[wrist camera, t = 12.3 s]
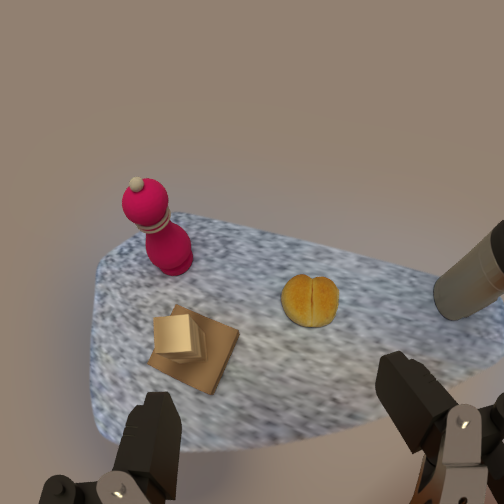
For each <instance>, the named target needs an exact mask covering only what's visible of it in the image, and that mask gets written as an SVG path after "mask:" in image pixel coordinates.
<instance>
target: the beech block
mask: <svg viewBox="0 0 504 504" xmlns="http://www.w3.org/2000/svg"><path fill="white" fill-rule="evenodd" d="M154 343H155V354H158V355H160V356H162V357H165V358H167V359H170V360H172V361H175V362H177V363H180V364H181V363H194V362H206V361H208V359H207V350H206V340H205V333H204V332H203V331H202V330H201V329H200V327H199V326H198V325H197V324H196V323H195V321H194V320H193V319H192V318H191V317H190V315H189V314H185V315H176V316H165V317H154Z"/></svg>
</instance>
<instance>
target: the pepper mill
mask: <svg viewBox="0 0 504 504" xmlns="http://www.w3.org/2000/svg"><path fill="white" fill-rule="evenodd" d="M122 207H123V211H124V213H125V215H126V217H127V218H128V219H129V220H130V221H132V222H133V223H135V224H136V225H137V227H138V229H139V230H140V231H141V232H143V233H146V251H147V255H148V257H149V259H150V260H151V262H152V263H153V264H154V265H156V266H157V267H159V268H160V269H161V271H162V272H163V273H165V274H167V275H170V276H177V275H180V274H183V273H184V272H186V271H187V270H188V269H189V267H190V266H191V264H192V261H193V254H192V251H191V241H190V238H189V236H188V235H187V233H186V232H185V230H183V229H182V228H181V227H180V226H178V225H177V224H174V223H172V222H171V221H170V217H171V212H170V209H169V207H168V195H167V192H166V190H165V188H164V187H163V186H162V185H161V184H160V183H159V182H158V181H156V180H153V179H149V178H146V179H141V178H140V177H134V178H132V179H131V181H130V183H129V187H128V188H127V190H126V191H125V193H124V195H123V199H122Z"/></svg>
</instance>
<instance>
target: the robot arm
mask: <svg viewBox="0 0 504 504" xmlns="http://www.w3.org/2000/svg"><path fill="white" fill-rule="evenodd" d="M502 294H504V220H502V221H501V222H500V223H499V224H498V225H497V226H496V227H495V228H494V229H493V230H492V231H491V232H490V233H489V234H488V235H487V236H486V237H485V238H484V239H483V240H482V241H481V242H479V243H478V244H477V245H476V246H475V247H474V248H473V249H472V250H471V251H470V252H469V253H468V254H467V255H465V256H464V257H463V258H462V259H461V260H460V261H459V262H458V263H456V264H455V265H454V266H453V267H452V268H451V269H449V270H448V271H447V272H446V273H445V274H444V275H442V276H441V277H440V278H439V279H438V280H437V281H436V283H435V286H434V300H435V303H436V306H437V308H438V310H439V311H440V313H441V314H442V315H443V316H444V317H445V318H447V319H449V320H459V319H461V318H463V317H465V318H467V317H469V316H471V315H472V314H474V313H476V312H478V311H480V310H481V309H483V308H485V307H487V306H488V305H490V304H492V303H494V302H495V301H496V300H497V298H498V297H499V296H501V295H502ZM375 390H376V394H377V396H378V398H379V400H380V401H381V403H382V405H383V406H384V408H385V409H386V411H387V413H388V414H389V416H390V418H391V419H392V421H393V422H394V424H395V426H396V427H397V429H398V430H399V432H400V434H401V436H402V437H403V439H404V440H405V442H406V444H407V445H408V447H409V449H410V450H411V452H412V454H414V453H416V452H418V451H420V450H423V451H424V453H425V454H424V456H423V460H422V464H421V469H420V473H419V477H418V481H417V484H416V488H415V491H414V495H413V497H412V500H411V501H410V503H409V504H484V500H485V494H486V486H487V485H488V487H489V488H490V490H491V492H492V494H493V496H494V498H495V500H496V501H497V503H498V504H504V443H503V442H502V440H503V439H504V393H502V394H501V395H500V396H499V397H498V398H497V400H496V402H495V404H494V405H491V406H487V407H483V408H480V409H476V408H475V407H473V406H471V405H468V404H461V405H459V404H458V403H457V402H456V401H455V400H454V399H453V398H452V396H451V395H450V394H449V393H448V392H447V391H446V389H445V388H444V387H443V386H442V385H441V384H440V383H439V382H438V380H437V381H436V378H435V377H434V376H433V375H432V374H430V371H429V370H428V369H427V368H426V367H425V366H424V365H423V364H421V363H420V362H418V361H416V360H414V359H410V360H409V359H408V358H407V357H406V356H405V355H404V354H403V353H402V352H401V351H396V352H393V353H390V354H387V355H384V356H382V357H381V358H380V362H379V368H378V373H377V378H376V382H375ZM125 426H126V428H124V432H123V436H122V438H121V442H120V445H119V449H118V452H117V456H116V460H115V463H114V467H113V469H112V471H111V472H108V473H106V474H104V475H103V476H102V477H101V478H100V479H99V480H98V481H96V482H85V483H74V482H73V481H72V480H71V479H69V478H68V477H66V476H64V475H55V476H52V477H50V478H49V479H48V480H47V481H46V482H45V484H44V487H43V490H42V494H41V497H40V501H39V504H165V500H175V497H176V485H177V474H178V473H177V472H178V462H179V453H180V443H181V434H182V424H181V419H180V416H179V414H178V412H177V410H176V407H175V405H174V403H173V401H172V398H171V396H170V394H169V393H168V392H148V393H147V395H146V398H145V401H144V405H136V407H135V408H134V409H133V410H132V411H131V412H130V414H129V415H128V419H127V422H126V425H125Z"/></svg>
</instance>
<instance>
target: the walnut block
mask: <svg viewBox="0 0 504 504" xmlns="http://www.w3.org/2000/svg"><path fill="white" fill-rule="evenodd" d="M185 314H189V315H190V317H191V318H192V319H193V320H194V321H195V323H196V324H197V325H198V326H199V327H200V329H201V330H202V331H203V332H204V333H205V340H206V350H207V359H208V361H206V362H194V363H181V364H180V363H177V362H175V361H172V360H170V359H167V358H165V357H162V356H160V355H158V354H155V348H154V350H153V352H152V355H151V357H150V359H149V361H148V363H147V364H148V365H150V366H152V367H154V368H156V369H158V370H160V371H161V372H163V373H165V374H167V375H169V376H171V377H173V378H175V379H177V380H179V381H181V382H183V383H185V384H187V385H190V386H192V387H194V388H196V389H198V390H200V391H203V392H205V393H207V394H209V395H214V393H215V390H216V388H217V386H218V383H219V381H220V379H221V377H222V374H223V372H224V370H225V367H226V365H227V363H228V361H229V358H230V356H231V354H232V351H233V349H234V347H235V344H236V342H237V340H238V337H239V335H240V334H239V330H237V329H234V328H232V327H229V326H227V325H224V324H222V323H219V322H217V321H214V320H212V319H209V318H207V317H205V316H202V315H200V314H198V313H195V312H193V311H191V310H188V309H186V308H184V307H181V306H179V305H177V304H176V305H175V307H174V309H173V311H172V313H171V315H170V316H176V315H185Z"/></svg>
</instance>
